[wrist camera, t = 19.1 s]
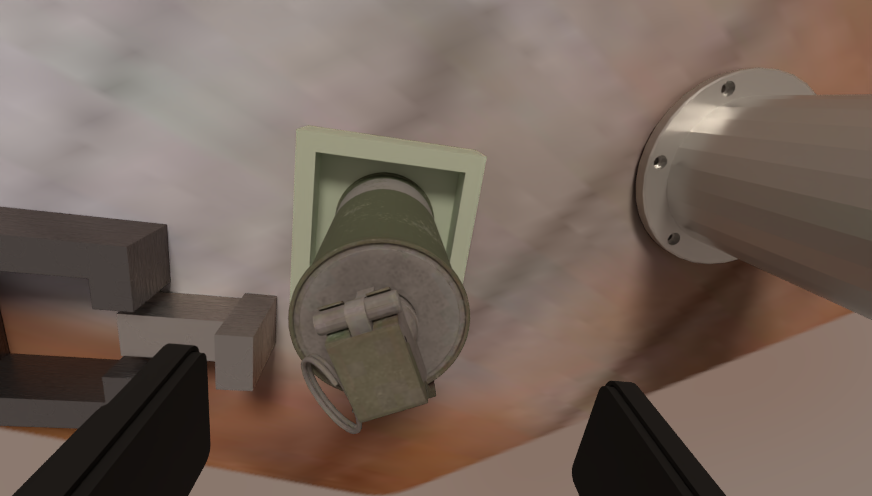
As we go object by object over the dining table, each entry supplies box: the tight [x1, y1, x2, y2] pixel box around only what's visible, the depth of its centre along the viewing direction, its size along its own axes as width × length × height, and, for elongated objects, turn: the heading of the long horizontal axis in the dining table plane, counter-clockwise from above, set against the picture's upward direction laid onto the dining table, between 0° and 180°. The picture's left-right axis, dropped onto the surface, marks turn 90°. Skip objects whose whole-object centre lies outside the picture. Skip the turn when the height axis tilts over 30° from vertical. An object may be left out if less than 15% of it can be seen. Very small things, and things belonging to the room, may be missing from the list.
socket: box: [0, 207, 170, 428], centre depth 24 cm, size 12×12×4 cm
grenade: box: [288, 172, 470, 434], centre depth 18 cm, size 6×6×15 cm
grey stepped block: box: [116, 292, 277, 391], centre depth 25 cm, size 8×4×5 cm, turn 81°
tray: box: [290, 125, 487, 302], centre depth 24 cm, size 10×10×3 cm
